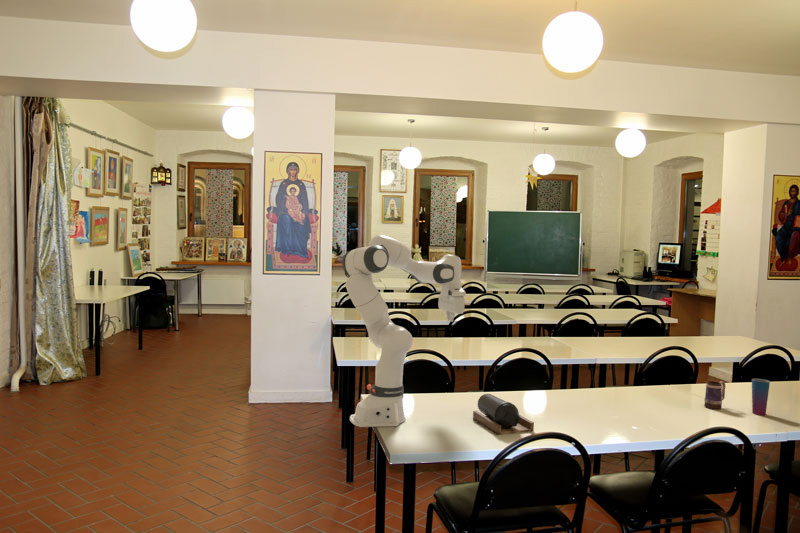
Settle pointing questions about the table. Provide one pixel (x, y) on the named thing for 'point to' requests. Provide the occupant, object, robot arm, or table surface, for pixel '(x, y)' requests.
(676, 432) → the table surface
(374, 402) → the robot arm
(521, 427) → the cradle
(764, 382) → the cup
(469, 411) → the table surface
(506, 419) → the water bottle
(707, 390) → the mug
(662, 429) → the table surface
